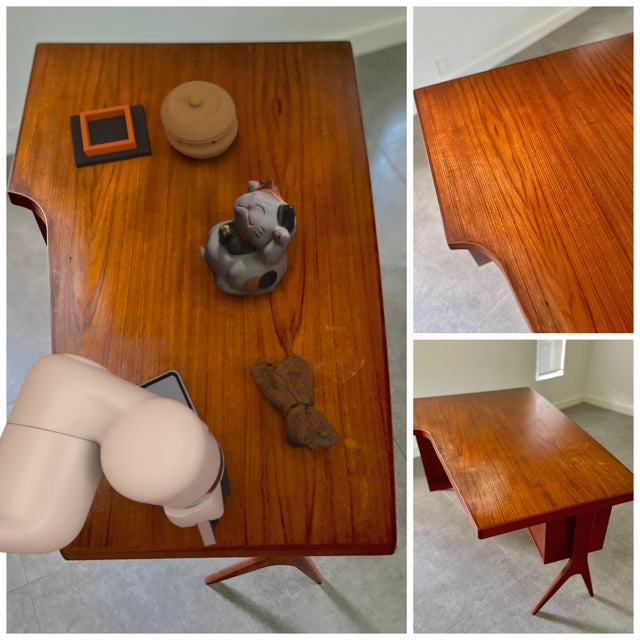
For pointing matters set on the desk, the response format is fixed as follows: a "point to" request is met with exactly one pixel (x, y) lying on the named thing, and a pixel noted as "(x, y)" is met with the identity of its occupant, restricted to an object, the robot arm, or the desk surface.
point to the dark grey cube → (225, 483)
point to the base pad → (109, 135)
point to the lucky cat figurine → (252, 242)
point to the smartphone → (169, 388)
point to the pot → (199, 119)
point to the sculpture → (294, 401)
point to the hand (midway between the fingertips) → (207, 479)
